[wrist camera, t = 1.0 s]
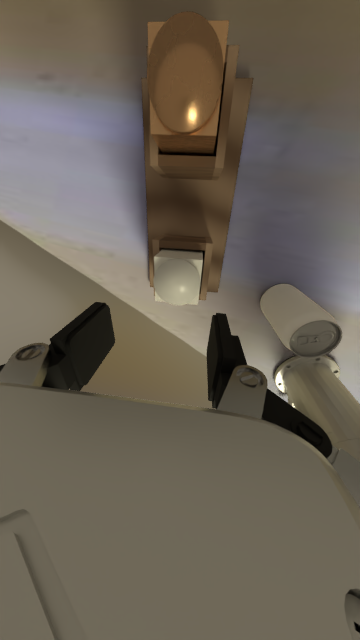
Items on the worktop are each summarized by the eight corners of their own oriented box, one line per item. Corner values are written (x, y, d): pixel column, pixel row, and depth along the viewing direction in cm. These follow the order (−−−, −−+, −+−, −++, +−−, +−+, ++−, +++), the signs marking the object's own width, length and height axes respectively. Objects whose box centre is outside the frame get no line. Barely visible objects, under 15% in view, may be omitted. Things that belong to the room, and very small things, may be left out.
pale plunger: (198, 284, 26) (197, 307, 20) (165, 282, 27) (154, 303, 20) (202, 248, 24) (202, 261, 17) (165, 246, 24) (152, 257, 18)
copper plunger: (211, 160, 19) (217, 132, 13) (166, 159, 20) (148, 131, 13) (219, 90, 17) (230, 10, 10) (166, 90, 17) (145, 12, 10)
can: (297, 312, 32) (342, 356, 22) (260, 318, 34) (285, 363, 24) (298, 278, 29) (351, 312, 19) (257, 287, 31) (285, 323, 21)
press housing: (217, 289, 32) (221, 310, 25) (151, 284, 33) (138, 303, 26) (250, 85, 20) (277, 12, 13) (144, 84, 20) (114, 15, 13)
